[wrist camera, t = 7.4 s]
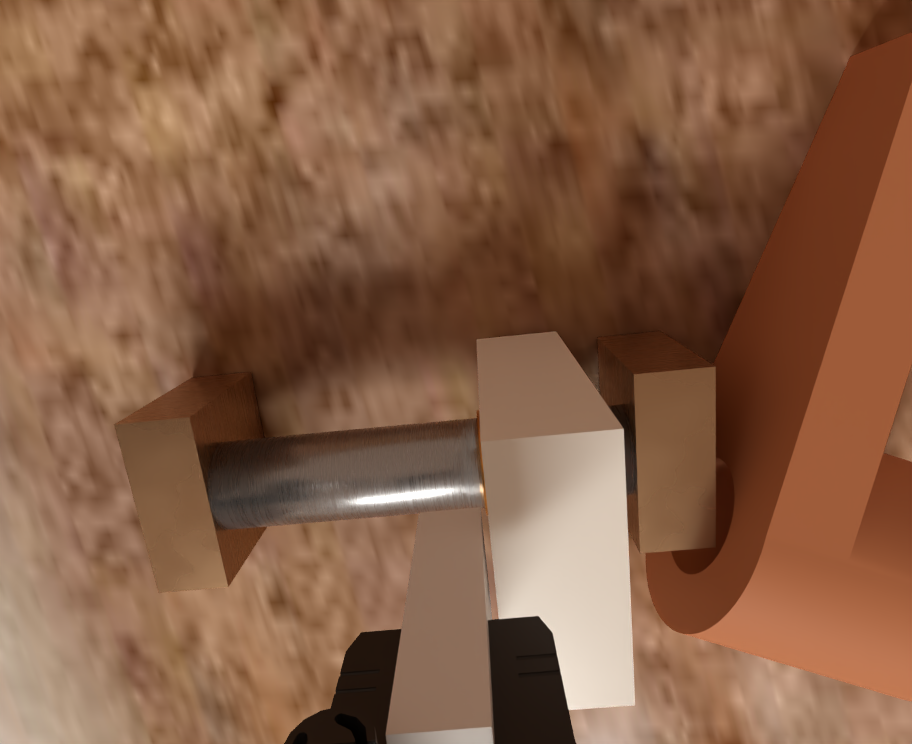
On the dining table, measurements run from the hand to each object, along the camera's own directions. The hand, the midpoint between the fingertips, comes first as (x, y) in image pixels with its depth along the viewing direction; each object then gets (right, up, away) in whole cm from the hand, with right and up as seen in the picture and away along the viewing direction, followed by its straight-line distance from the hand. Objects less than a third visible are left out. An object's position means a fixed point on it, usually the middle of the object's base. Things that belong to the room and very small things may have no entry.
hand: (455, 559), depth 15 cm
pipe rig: (-1, +2, +10) cm, 10 cm away
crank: (+14, +5, +9) cm, 18 cm away
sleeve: (+3, +3, +9) cm, 10 cm away
